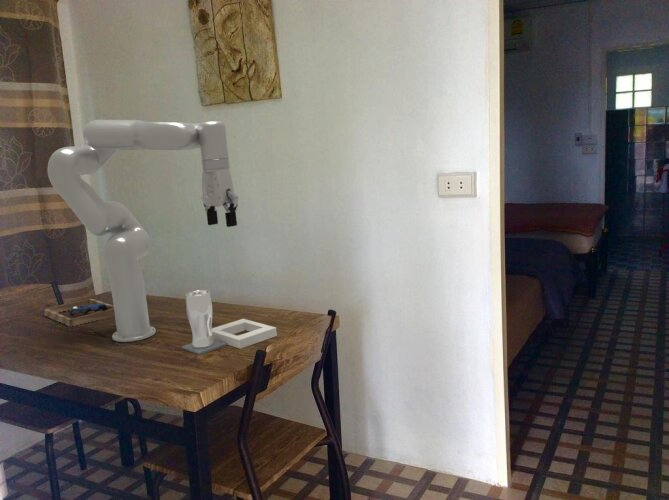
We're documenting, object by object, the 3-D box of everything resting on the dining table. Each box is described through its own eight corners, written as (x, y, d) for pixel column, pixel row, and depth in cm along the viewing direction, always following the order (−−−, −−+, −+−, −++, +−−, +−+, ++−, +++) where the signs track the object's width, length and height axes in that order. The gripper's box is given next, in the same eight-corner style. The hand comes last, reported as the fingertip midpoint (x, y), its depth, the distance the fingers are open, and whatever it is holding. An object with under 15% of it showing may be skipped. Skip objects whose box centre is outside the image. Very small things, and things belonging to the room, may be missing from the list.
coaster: (181, 348, 170) (181, 346, 170) (209, 339, 176) (209, 337, 176) (199, 354, 163) (198, 352, 163) (227, 345, 169) (226, 343, 169)
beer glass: (210, 349, 165) (204, 295, 163) (186, 349, 167) (180, 296, 164) (219, 340, 172) (214, 289, 169) (197, 340, 174) (191, 289, 171)
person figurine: (62, 323, 212) (94, 320, 202) (59, 310, 212) (91, 307, 202) (89, 314, 221) (121, 311, 212) (86, 302, 221) (118, 299, 211)
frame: (44, 315, 216) (43, 309, 215) (91, 304, 227) (90, 298, 227) (70, 327, 199) (69, 320, 198) (120, 314, 210) (119, 307, 210)
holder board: (207, 338, 177) (206, 329, 177) (244, 326, 186) (243, 318, 186) (240, 348, 166) (239, 340, 165) (276, 335, 175) (276, 327, 174)
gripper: (188, 167, 176) (195, 225, 179) (221, 166, 163) (228, 229, 166) (210, 165, 181) (216, 222, 184) (244, 163, 168) (250, 224, 171)
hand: (222, 225), depth 175 cm, fingers open, 9 cm apart
